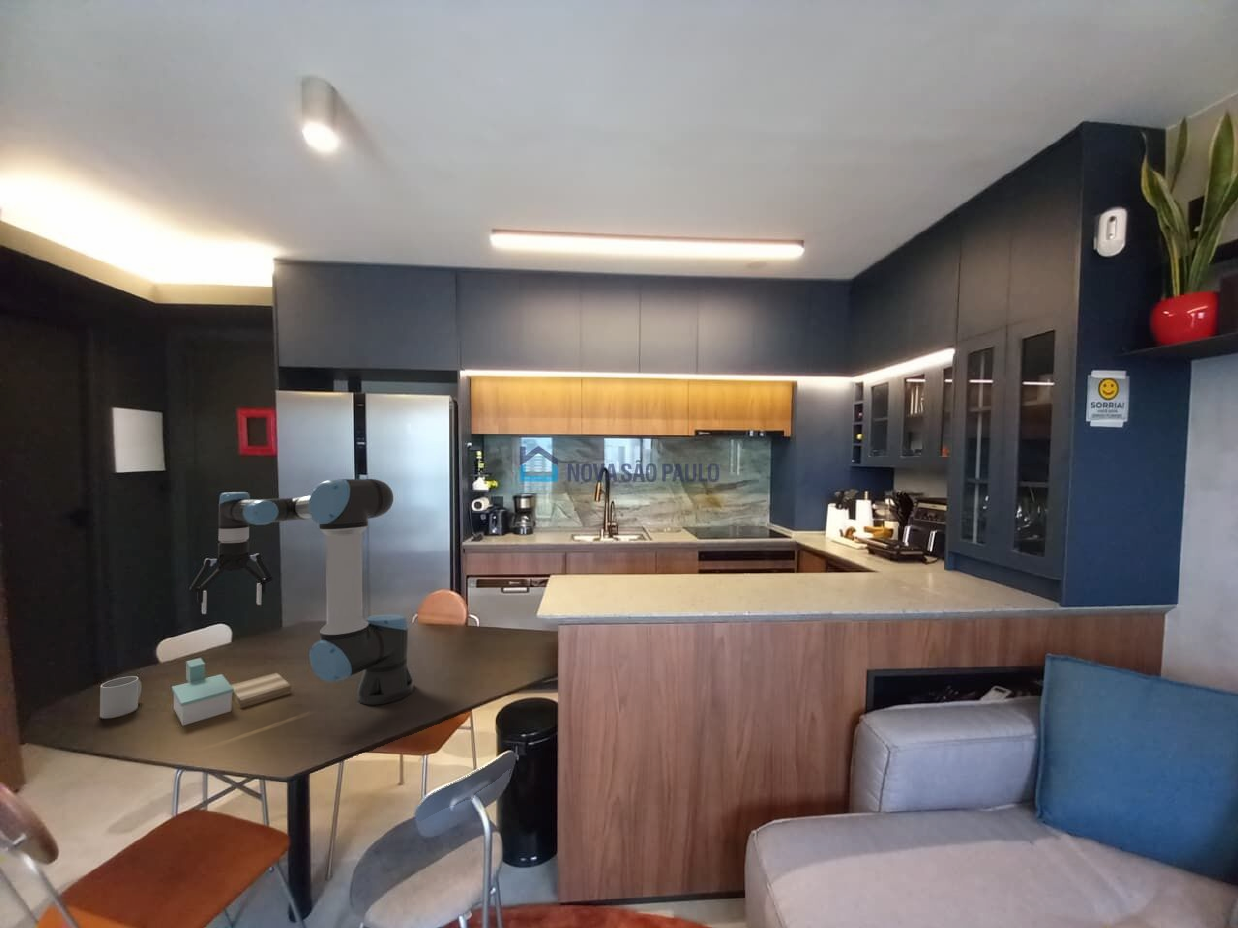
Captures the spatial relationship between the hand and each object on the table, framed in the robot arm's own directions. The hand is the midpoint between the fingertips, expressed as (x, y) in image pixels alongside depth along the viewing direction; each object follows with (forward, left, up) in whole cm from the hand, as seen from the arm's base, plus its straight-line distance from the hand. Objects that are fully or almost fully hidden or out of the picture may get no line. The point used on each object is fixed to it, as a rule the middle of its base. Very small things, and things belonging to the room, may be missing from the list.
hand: (232, 608), depth 150 cm
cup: (0, +23, -24) cm, 33 cm away
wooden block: (-17, -4, -24) cm, 29 cm away
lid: (-13, +9, -18) cm, 24 cm away
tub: (-17, +9, -24) cm, 30 cm away
